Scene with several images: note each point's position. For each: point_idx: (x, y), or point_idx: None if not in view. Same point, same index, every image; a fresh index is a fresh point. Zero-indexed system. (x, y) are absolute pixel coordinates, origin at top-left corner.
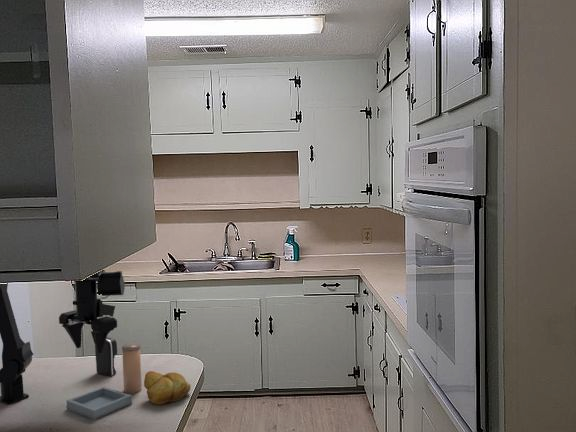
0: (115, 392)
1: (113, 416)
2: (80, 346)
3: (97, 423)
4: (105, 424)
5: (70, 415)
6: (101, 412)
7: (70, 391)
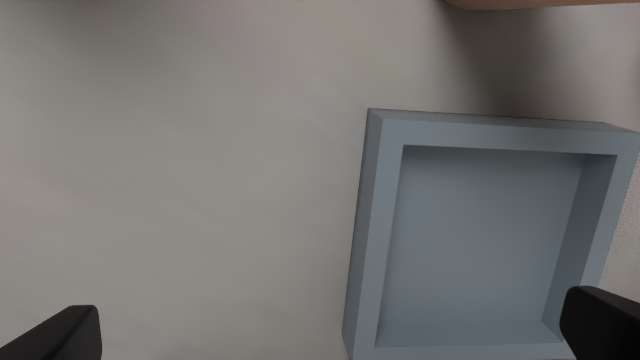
0: (525, 149)
1: None
2: (92, 315)
3: None
4: None
5: None
6: None
7: (121, 176)
